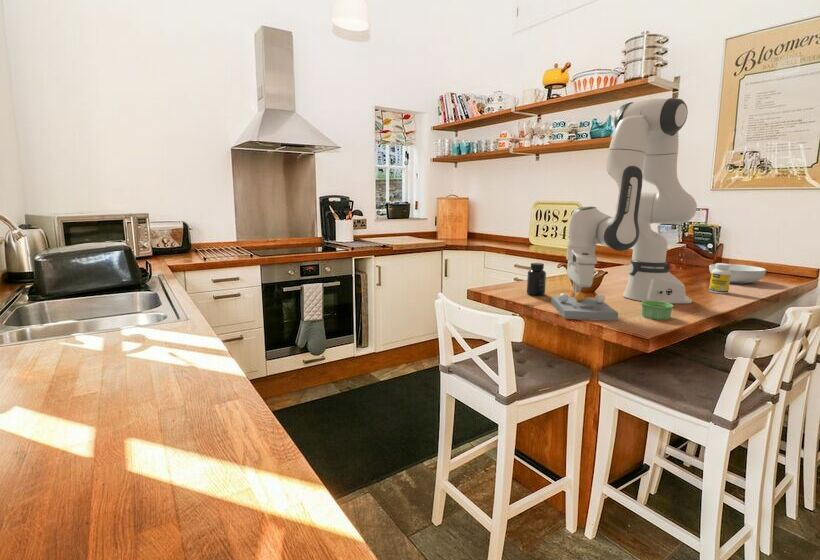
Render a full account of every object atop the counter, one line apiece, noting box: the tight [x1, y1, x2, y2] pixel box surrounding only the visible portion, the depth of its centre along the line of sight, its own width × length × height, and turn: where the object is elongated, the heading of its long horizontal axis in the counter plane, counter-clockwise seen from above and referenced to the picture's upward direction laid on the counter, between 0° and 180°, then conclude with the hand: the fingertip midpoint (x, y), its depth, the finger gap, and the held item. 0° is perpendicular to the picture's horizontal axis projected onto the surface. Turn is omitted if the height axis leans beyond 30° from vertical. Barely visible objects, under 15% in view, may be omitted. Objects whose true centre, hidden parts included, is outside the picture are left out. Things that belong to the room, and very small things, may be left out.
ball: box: [574, 291, 586, 301], centre depth 150 cm, size 3×3×3 cm
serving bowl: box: [708, 263, 767, 285], centre depth 202 cm, size 21×21×7 cm
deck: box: [550, 296, 619, 322], centre depth 147 cm, size 20×16×2 cm
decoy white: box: [594, 293, 606, 303], centre depth 148 cm, size 3×3×3 cm
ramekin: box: [640, 301, 674, 321], centre depth 141 cm, size 9×9×4 cm
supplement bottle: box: [526, 262, 547, 297], centre depth 170 cm, size 7×7×12 cm
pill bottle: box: [708, 262, 731, 295], centre depth 179 cm, size 6×6×12 cm
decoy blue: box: [557, 292, 570, 303], centre depth 148 cm, size 3×3×3 cm
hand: (576, 295), depth 153 cm, fingers closed
